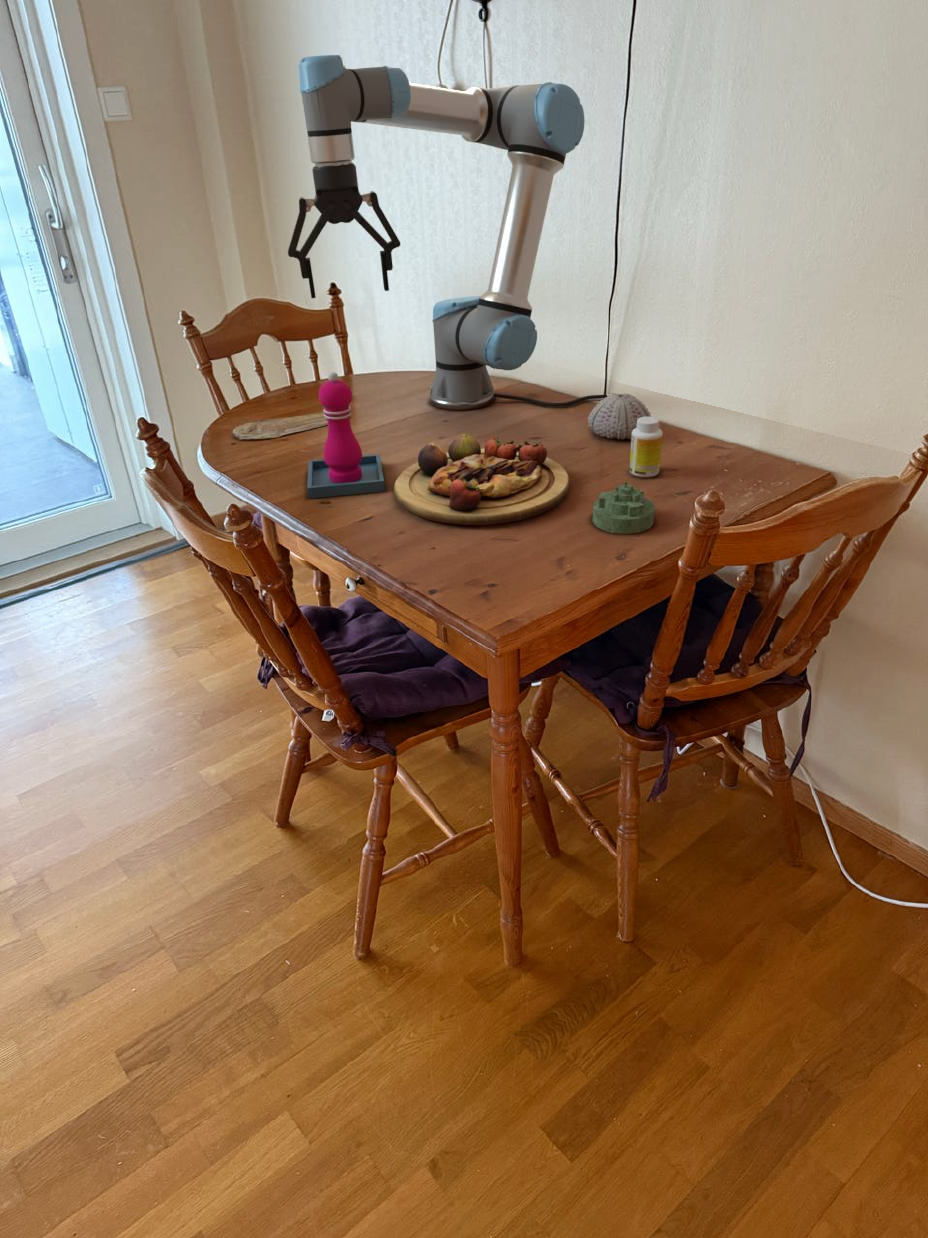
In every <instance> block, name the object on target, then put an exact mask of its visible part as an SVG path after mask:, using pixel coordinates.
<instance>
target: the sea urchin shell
mask: <svg viewBox="0 0 928 1238" xmlns="http://www.w3.org/2000/svg"><path fill="white" fill-rule="evenodd" d="M611 394H612V395H609V396H608V397H606V398H602V400H601V399H600V401H599V402H598V403H596V405H595V406H594V408H592V410H591V411H590V412H589V413H588V414H589V416H588V417H587V419H588V420H587V423H588V427H589V428H590V431H592V432H593V433H594V434H596V435H599V437H604V438H608V439H618V440H625V439H627V440H631V438H632V431H633V430H634V429H635V428H636V427H637V420H638V418H641V417H652V414H651V412H650V411H649V408H647V407H646V405H645V404H643V402H642V401H641V400H639V398H637V397H636V396H633V395H632V394H629V393H611Z"/></svg>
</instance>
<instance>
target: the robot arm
mask: <svg viewBox="0 0 928 1238" xmlns="http://www.w3.org/2000/svg"><path fill="white" fill-rule="evenodd" d="M298 77H299V87H300V88H299V92H300V93H301V100H302V105H303V113H304V119H305V120H304V121H305V127H306V132H307V141H308V142H307V143H308V148H309V156H310V162H311V163H312V164H314V166H313V167H312V169H311V170H312V171H311V172H312V178H313V184H314V192H315V196H314V198H305V197H304V196H301V197H299V199H298V208H299V209H298V210H299V211H298V214H297V219H296V222H295V225H294V228H293V232H292V235H291V240H290V242H289V246H288V250H287V255H288V257H289V258H294V259H297V260H298V262H299V268H300V275H301V278H302V279H308V285H309V293H310V298H311V299H316V298H317V297H316V290H315V283H314V276H313V270H312V263H311V257H307V256H308V255H309V253H310V251H311V249H312V248H313V246H314V244H315V243H316V241H317V239H318V237H320V234H321V233H322V231H323V230H324V228H325V227H326V224H327V223H329V224H332V225H337V224H341V223H343V224H350V223H352V222H353V221H354V220H355V221H356V223H358V224H359V225H360V226H361V228H363V229H364V230H365V231H366V233H368V235H369V236H370V237H371V238H372V239H373V240H374V241H375V242H376V243H377V244H378V245H379V247H381V248H382V249H383V250H380V251H379V256H380V265H381V274H382V283H383V289H384V292H389V291H390V285H389V277H388V271H393V268H394V266H393V254H392V253H393V250H395V249H397V248H399V247H401V241H400V239H399V237H398V235H397V234H396V233H395V230H394V229H393V226H392V225H391V224H390V222H389V220H388V218H387V217H386V215H385V213H384V211H383V210H382V208H381V206H380V203H379V198H378V193H376V192H375V191H374V190H371V191H370V192H368V193H363V194H361V193H360V189H359V182H358V174H357V173H358V172H357V166H356V164H355V163H353V161H354V160H355V158H356V155H355V147H354V138H353V130H352V123H361V124H371V125H379V126H385V127H394V128H403V129H411V130H417V131H427V132H434V133H442V134H450V135H457V136H461V137H462V139H463V140H464V141H466V142H469V143H477V144H481V145H485V146H488V147H493V148H497V149H500V150H505V151H507V153H506V155H507V158H508V159H509V161H510V163H511V165H512V167H511V172H510V177H509V183H508V187H507V193H506V198H505V203H504V207H503V212H502V218H501V223H500V228H499V232H498V236H497V237H498V238H497V243H496V248H495V253H494V257H493V263H492V268H491V273H490V278H489V279H490V280H489V283H488V289H487V291H485V292H484V293H482V294H481V295H479V296H478V295H473V296H463V297H455V298H449V299H444V300H441V301H437V302H436V303H435V304H434V305H433V308H432V320H431V321H432V325H433V340H434V355H435V372H434V377H433V380H432V385H431V387H430V390H429V401H430V404H431V405H432V406H434V407H436V408H438V409H442V410H450V411H468V410H476V409H480V408H483V407H486V406H489V405H490V404H492V403H494V401H495V398H499V399H506V400H514V401H521V402H527V403H531V404H534V405H535V404H536V405H538V406H539V405H540V406H543V407H550V408H551V407H552V408H553V407H554V408H557V407H558V408H559V407H567V406H573V405H575V404H578V403H581V402H584V401H588V400H598V399H600V400H601V399H604V398H606V397H608V396H607V395H605V394H606V393H605V394H604V393H603V394H591V395H586V396H582V397H579V398H576V399H573V400H570V401H565V402H548V401H544V400H543V401H542V400H538V399H535V398H530V397H525V396H519V395H511V394H503V393H496V392H495V388H494V386H493V382H492V381H491V377H490V374H489V371H488V369H487V367H490V368H491V369H493V370H495V369H496V370H503V371H514V370H517V369H519V368H521V367H522V365H524V364H526V363H527V362H528V361H529V359H530V358H531V357H532V355H533V353H534V351H535V349H536V346H537V341H538V330H537V329H536V324H535V322H534V321H533V320H532V319H531V317H532V312H533V306H532V304H531V303H530V302H529V299H528V297H529V293H530V288H531V283H532V278H533V274H534V269H535V266H536V265H535V264H536V261H537V255H538V251H539V248H540V247H539V246H540V241H541V237H542V232H543V228H544V224H545V223H544V222H545V218H546V214H547V210H548V205H549V199H550V194H551V190H552V187H553V186H552V185H553V182H554V177H555V176H556V174H557V173H558V172H559V171H561V170H562V169H564V166H565V161H566V157H567V154H569V153H570V152H572V151H573V150H575V149H576V147H577V146H579V144H580V143H581V140H582V138H583V136H584V131H585V122H586V121H585V120H586V119H585V112H584V107H583V105H582V104H581V99H580V97H579V95H578V93H576V91H575V90H574V89H573V88H572V87H570V86H569V85H568V84H564V83H555V82H551V81H549V82H545V83H536V84H534V83H533V84H521V85H519V84H518V85H515V84H514V85H509V86H503V87H491V88H482V87H481V88H480V87H470V88H468V89H467V90H466V91H464V90H463V91H461V90H455V89H449V88H443V87H436V86H432V85H424V84H419V83H413V82H412V83H411V82H410V80H409V78H408V76H407V74H406V72H405V70H403V69H402V68H401V67H398V66H388V65H384V66H383V65H382V66H374V67H373V66H372V67H359V68H346V65H345V61H344V58H343V56H342V55H340V54H327V55H326V54H325V55H311V56H305V57H303V58H301V59H300V60H299V63H298ZM363 202H364V203H366V205H367V206H368V207H371V208H372V209H373V211H374V213H375V215H376V217H377V219H378V220H379V222H380V224H381V226H382V227H383V228H384V230H385V232H386V234H387V236H388V237H389V239H390V241H388V242H387V240H386V239H385V238H384V237H383V236H382V235H381V234H380V233H379V232H378V230H377V229H376V228H375V227H374V226H372V225H371V223H370V222H369V221H368V220H367V219H366V218H365V217H364V216H363V215H362V214H361V212H359V210H360V208H361V206H362V204H363ZM312 207H315V208H316V209H317V211H318V212H319V213H320V216H319V217H318V219H317V221H316V223H315V224H314V226H313V228H312V230H311V231H310V233H309V235H308V237H307V238H306V240H305V241H304V243H303V244H302V246H301V248H300V250H299V249H297V248H298V245H299V242H300V239H301V235H302V231H303V227H304V225H305V222H306V218H307V213H310V212H311V210H312Z"/></svg>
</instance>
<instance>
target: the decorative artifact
mask: <svg viewBox="0 0 928 1238" xmlns="http://www.w3.org/2000/svg"><path fill="white" fill-rule="evenodd" d="M627 483H628V481H627V480H623V484H620V485H619V484H617V485H616V487H615V488H614V489H613V490H610V491H608V492H604V491H601V492H600V493H599V495H598V499H597V500H595V501H594V503H593V505H592V506H593V507H592V523H593V524H594V526H595V527H597V528H598V529H600V530H602V531H604V532H607V533H611V534H619V535H632V534H638V533H642V532H645V531H647V530H649V529H650V528H652V527H653V525H654V523H655V522H654V521H655V510H656V509H655V508H656V506H655V504H654V503H653V502H652V500H649V499H648V498H646V497H645V495H644V493H645V491H644V490H642V489H638V488H635V487H634V485H632V484H627Z"/></svg>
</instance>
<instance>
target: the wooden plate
mask: <svg viewBox="0 0 928 1238" xmlns="http://www.w3.org/2000/svg"><path fill="white" fill-rule="evenodd" d="M514 442H515V441H514V440H511V441H509V442H508V441H507V442H502V443H501V442H500V440H499V437H498V436H497V437H495V438H494V437H492V438H491V439H489V440H488V441H487V442H486V443H485V445H484V447H483V448H481V445H480V442H479V441H478V440H477V439H476V438H474V437H473V436H471V435H468V434H467V433H463V434H461V435H460V436H457V437H456V438H454V440H453V441H452V442H451V443H450V445H449V446H448V449H447V450H448V451H447V452H446V451H445V450H444V449H443V448H442V447H441V446H440V445H438V444H436V443H435V442H433V441H432V442H430V443H427V444H425V445H424V446H423V447H422V448H421V449H420V451H419V453H418V456H417V462H416V463H414V464H412V465H410V466H408V467H407V468H405V469H404V470H403V471H402V472H401V473H400V474H399V475H398V477H397V478H396V480H395V482H394V485H393V493H394V497H395V498H396V500H397V502H398V503H399V505H401V506H402V508H403V509H405V510H407V511H408V512H410V513H412V514H414V515H416V516H417V517H421V518H424V519H427V520H429V521H432V522H433V521H434V522H437V523H438V522H439V523H445V524H451V525H462V526H487V525H498V524H499V525H500V524H505V523H511V522H512V523H513V522H518V521H522V520H525V519H528V518H532V517H535V516H537V515H540V514H542V513H545V512H547V511H549V510H551V509H552V508H554V507H556V506H557V505H559V504H560V503H561V502H562V501H563V500H564V498H565V497H566V496H567V494H568V492H570V491H569V490H570V487H571V478H570V476H569V474H568V472H567V470H566V469H565V468H564V467H563V466H562V465H561V464H559V463H558V462H556V461H555V460H553V459H551V458H549V457H548V451H547V447H545V446H544V445H543V444H540V443H541V442H537V443H535V444H531V443H529V442H528V441H525V440H523V444H524V445H523V444H518V446H517V447H516V445H515V444H514Z"/></svg>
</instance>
